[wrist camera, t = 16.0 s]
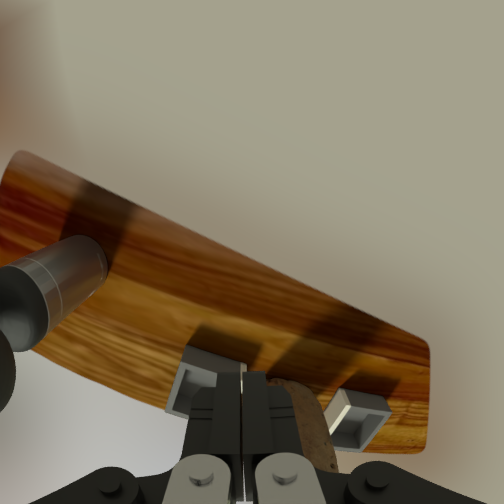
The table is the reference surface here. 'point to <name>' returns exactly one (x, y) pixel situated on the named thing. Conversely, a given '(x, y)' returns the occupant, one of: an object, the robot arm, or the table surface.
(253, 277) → the table surface
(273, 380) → the block
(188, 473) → the robot arm
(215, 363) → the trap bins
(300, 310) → the table surface
